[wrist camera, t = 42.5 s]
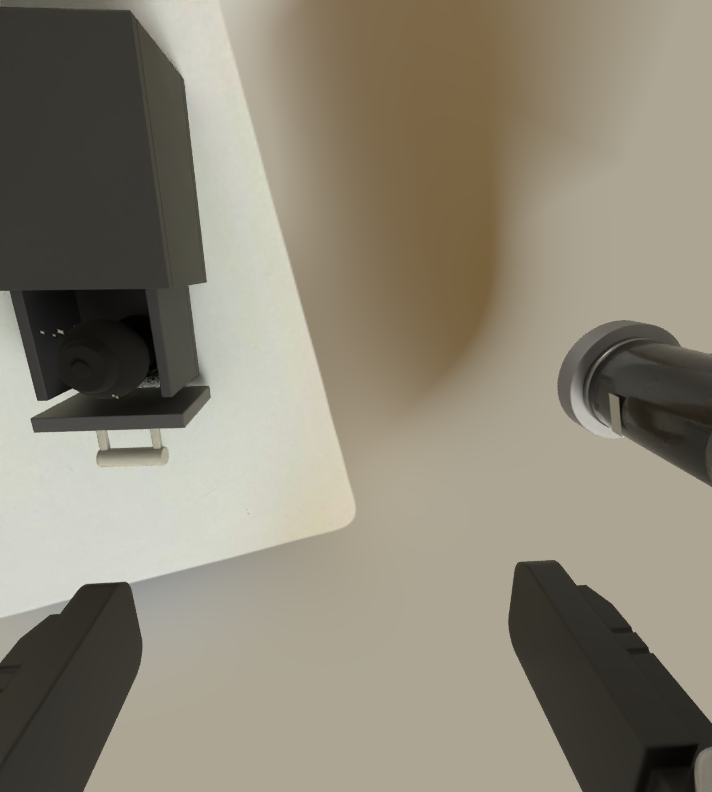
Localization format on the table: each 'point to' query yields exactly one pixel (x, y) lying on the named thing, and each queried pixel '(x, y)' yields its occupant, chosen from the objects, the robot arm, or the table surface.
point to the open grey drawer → (140, 405)
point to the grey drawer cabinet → (93, 156)
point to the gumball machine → (106, 356)
